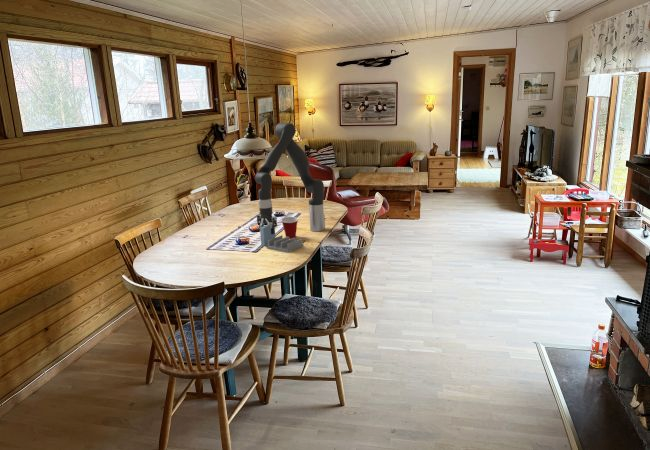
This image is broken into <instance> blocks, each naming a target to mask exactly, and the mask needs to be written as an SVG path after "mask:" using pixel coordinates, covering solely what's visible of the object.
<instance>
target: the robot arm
mask: <svg viewBox="0 0 650 450" xmlns="http://www.w3.org/2000/svg"><path fill="white" fill-rule="evenodd" d="M296 132H297V129H296V126H295V125H294V124H293V123H290V122H279V123H277V125H276V126H275V134H276V136H277V137H278V139H279V141H278V142H277V143H276V145H275V146H274V147H273V148H272V149H271V151H269V153H268V154H267V156H266V158H265V160H264V162H263V164H262V166H261V167H259V170H258V171H257V172H256V174H255V177H254V180H255V182H256V183H257V184H258V185H260V186H261V187H260V189H258V206H259V207H258V208H259V209H258V210H259V214H258V215H256V221H257V224H256V225H257V226H259V228H260V227H263V226H265V224H267V225H270V227H271V234H274V233H275V234H276V229H275V228H277V227H278V220H277V216H275V217H273V212H274V211H273V201H272V195H271V194H272V193H271V190H272V184H273V180H272V179H273V178H272V176H271V174H270V173H271V172H273V171H274V170H276V167H277V165H278V163H279V161H280V159H281V157H282V155H283V154H284V152H285V150H286V152H287V153H288V156H289V157H290V159H291V161H292V163H293V165H294V167H295V169H296V171H297V173H298V175H299V177H300V178H301V181H302V183H303V186H304V189H305V190H306V192H308V193H309V194H312V198H310V199H309V200H308V211H309V213H308V214H309V228H310V231H311V232H322V231H324V230H325V229H326V219H325V218H326V216H325V212H324V199H325V185H324V182H323V180H321V179H318V178H317V179H316V178H313V176H312V174H311V173H310V169H309V168H310V161H309V158H308V156H307V154H306V153H305V151H304V150H303V148H301V146H299V145H298V144H297V143H296V141H295V140H294V137H295V135H296Z"/></svg>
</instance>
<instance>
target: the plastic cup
mask: <svg viewBox="0 0 650 450" xmlns="http://www.w3.org/2000/svg"><path fill="white" fill-rule="evenodd" d="M280 221H281V223H282V226H283V230H284V234H285V237H289V239H292V238H295V239H296V237H297V230H298V229H297V228H298V221H299V218H298V217H296V216H287V217H286V216H285V217H283V218H281V219H280Z"/></svg>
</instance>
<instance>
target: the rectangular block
mask: <svg viewBox="0 0 650 450" xmlns="http://www.w3.org/2000/svg"><path fill="white" fill-rule="evenodd" d="M259 231H260V232H259V233H260V245H261V246H263V247H267V246H268V240H270V239H273V238H276V237H277V236H276V232H275V233H274V234H271V227H270V225H268V224H267V225H264V226H263V227H260V226H259Z"/></svg>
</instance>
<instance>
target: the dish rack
mask: <svg viewBox="0 0 650 450" xmlns="http://www.w3.org/2000/svg"><path fill="white" fill-rule="evenodd" d="M275 237H276V238H273V239H270V240H268V245H266V249H268V250H272V251H278V252H283V253H290V252H293V251H295V250H298V249H300V248H301V247H304V243H303V239H302V238H299V239H296V237H295V238H292V239H289V237H286V236H285V237H283V235H279V236H275Z"/></svg>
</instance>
